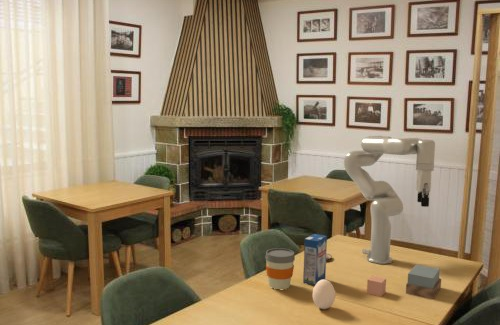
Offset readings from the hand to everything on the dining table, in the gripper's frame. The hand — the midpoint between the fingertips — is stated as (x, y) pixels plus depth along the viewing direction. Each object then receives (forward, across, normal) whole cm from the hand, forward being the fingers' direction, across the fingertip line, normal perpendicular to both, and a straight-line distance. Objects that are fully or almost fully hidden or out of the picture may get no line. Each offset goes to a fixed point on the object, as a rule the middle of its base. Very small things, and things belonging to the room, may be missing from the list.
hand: (422, 204), depth 223 cm
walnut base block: (+34, +19, -1) cm, 39 cm away
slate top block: (+30, +19, -2) cm, 35 cm away
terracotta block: (+34, +26, -22) cm, 47 cm away
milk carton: (+33, +18, -48) cm, 61 cm away
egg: (+34, +46, -43) cm, 71 cm away
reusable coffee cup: (+33, +27, -62) cm, 76 cm away
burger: (+34, -14, -46) cm, 59 cm away
